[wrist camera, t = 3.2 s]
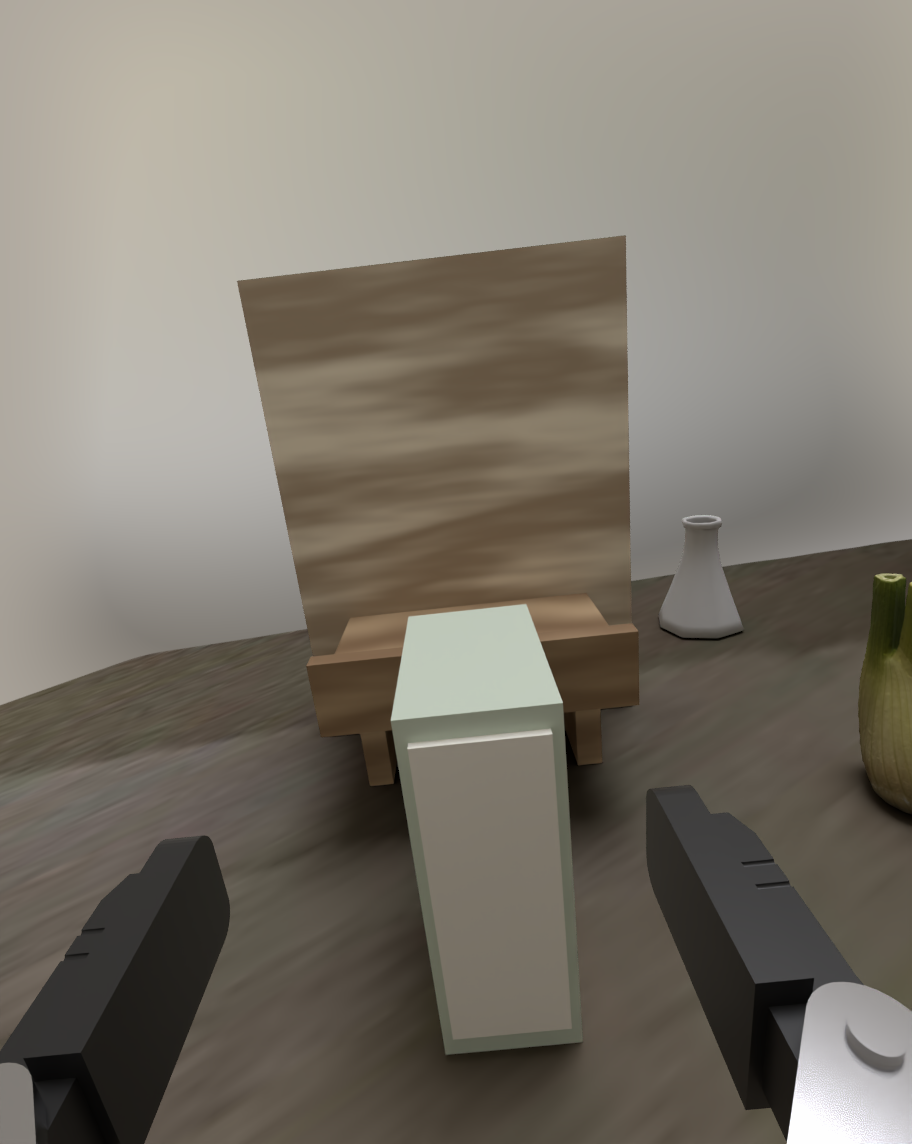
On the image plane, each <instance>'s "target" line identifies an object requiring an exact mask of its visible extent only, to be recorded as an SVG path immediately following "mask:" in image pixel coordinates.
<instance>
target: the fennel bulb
mask: <svg viewBox="0 0 912 1144" xmlns="http://www.w3.org/2000/svg"><path fill="white" fill-rule="evenodd" d="M905 587H906V578H904V577H903V576H902V575H901V574H879V575H875V576H874V582H873V601H872V611H871V626H870V632H869V638H868V643H867V648H866V654H865V659H864V661H863V667H862V673H861V677H860V686H859V700H858V707H859V711H858V717H859V732H860V745H861V752H862V760H863V762H864V765H865V768H866V771H867V775H868V778H869V780H870V782H871V785H872V787H873V789H874V791H875V793H876V794H877V795H879V796H880V797H881V798H882V799H883V800H884V801H885V802H886V803H888V804H890V805H891V806H893V807H896V808H898V809H900V810H901V811H903V812H905V813H909V814H911V815H912V582H911V583H910V584H909V588H908V595H907V599H906V606H905Z"/></svg>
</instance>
